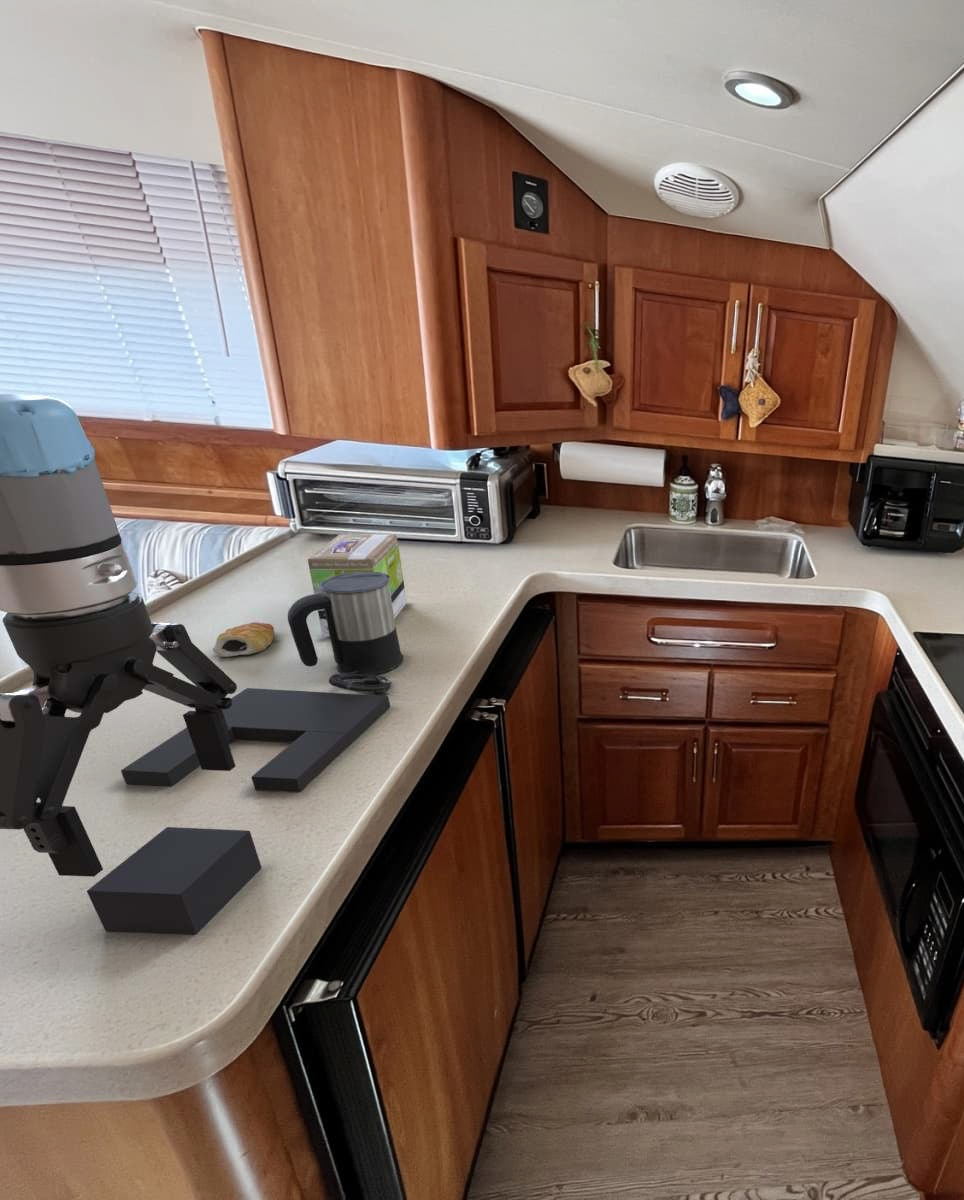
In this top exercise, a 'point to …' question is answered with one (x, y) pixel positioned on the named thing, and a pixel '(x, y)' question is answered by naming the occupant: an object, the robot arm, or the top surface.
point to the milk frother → (352, 629)
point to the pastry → (244, 639)
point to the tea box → (359, 565)
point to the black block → (176, 881)
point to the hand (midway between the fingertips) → (157, 815)
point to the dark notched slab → (273, 736)
